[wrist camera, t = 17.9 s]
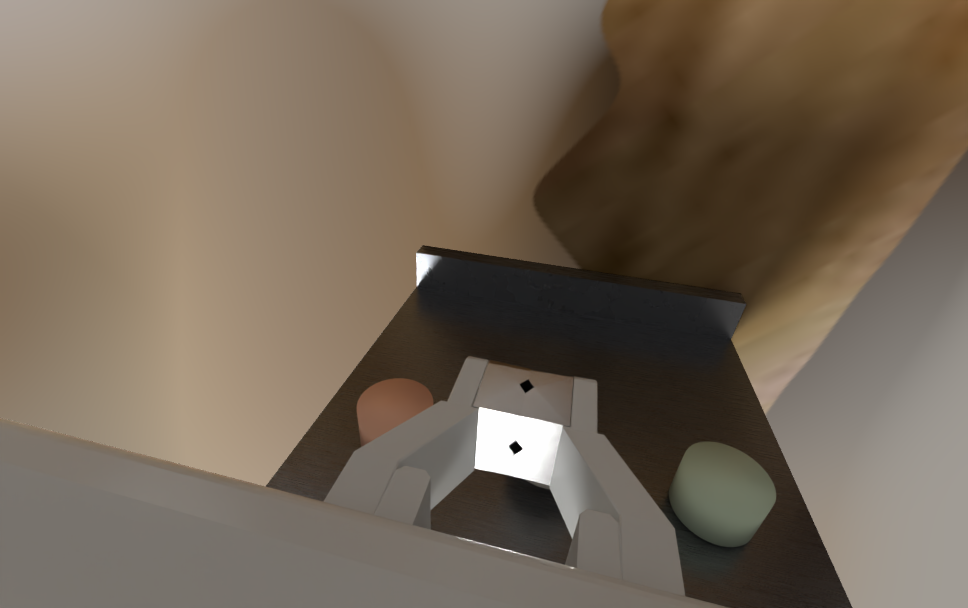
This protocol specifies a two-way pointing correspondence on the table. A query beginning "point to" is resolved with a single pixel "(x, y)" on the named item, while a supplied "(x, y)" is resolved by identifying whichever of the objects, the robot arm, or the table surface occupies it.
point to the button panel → (620, 411)
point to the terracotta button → (390, 406)
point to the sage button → (721, 494)
